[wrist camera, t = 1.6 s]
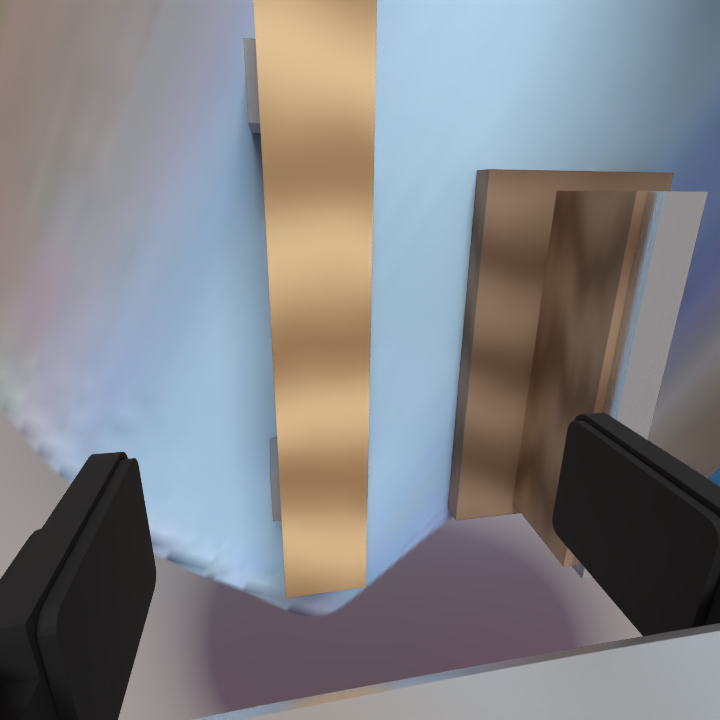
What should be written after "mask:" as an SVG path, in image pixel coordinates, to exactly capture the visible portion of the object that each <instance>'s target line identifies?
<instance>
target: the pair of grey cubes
mask: <svg viewBox="0 0 720 720" xmlns="http://www.w3.org/2000/svg"><path fill="white" fill-rule="evenodd" d="M243 41H244V57H245V73H246V90H247V106H248V122H249V126H250V130H251V133H261V129H260V111H259V93H258V74H257V56H256V39H252V38H243ZM270 479H271V495H272V511H273V521H280V520H282V517H281V498H280V480H279V461H278V443H277V438H271V439H270Z"/></svg>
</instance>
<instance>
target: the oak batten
mask: <svg viewBox="0 0 720 720" xmlns="http://www.w3.org/2000/svg"><path fill="white" fill-rule="evenodd" d="M254 19H255V37H256V56H257V74H258V93H259V111H260V129H261V148H262V166H263V185H264V203H265V222H266V240H267V258H268V277H269V295H270V314H271V332H272V351H273V369H274V387H275V406H276V424H277V443H278V461H279V480H280V498H281V517H282V535H283V553H284V572H285V590H286V598H290V597H297V596H305V595H312V594H319V593H326V592H334V591H341V590H348V589H356V588H363V587H366V550H367V498H368V445H369V393H370V341H371V288H372V236H373V183H374V131H375V79H376V26H377V0H254Z"/></svg>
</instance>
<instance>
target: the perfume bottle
mask: <svg viewBox="0 0 720 720" xmlns="http://www.w3.org/2000/svg"><path fill="white" fill-rule="evenodd" d="M709 480H710V481H712V482H713V483H715V484H716V485H718V486H719V487H720V468H719V469H718V470H717V471H716V472H715V473H714V474H713V475H712V476H711V477H710V478H709Z"/></svg>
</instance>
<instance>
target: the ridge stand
mask: <svg viewBox="0 0 720 720" xmlns="http://www.w3.org/2000/svg"><path fill="white" fill-rule="evenodd" d="M673 174H674V173H645V172H595V171H546V170H497V169H488V170H478V171H477V182H476V193H475V205H474V216H473V228H472V239H471V251H470V262H469V273H468V285H467V296H466V308H465V319H464V330H463V342H462V353H461V365H460V376H459V387H458V399H457V410H456V422H455V433H454V445H453V456H452V467H451V479H450V490H449V502H448V508H449V509H450V511H451V513H452V515H453V516H454V518H455V519H456V520H464V519H472V518H482V517H490V516H499V515H507V514H516V513H522V514H523V516H524V517H525V518H526V520H527V521H528V522H529V523H530V525H531V526H532V527H533V528H534V530H535V531H536V532H537V534H538V535H539V536H540V537H541V539H542V540H543V541H544V542H545V544H546V545H547V546H548V547H549V549H550V550H551V551H552V553H553V554H554V555H555V556H556V558H557V559H558V560H559V562H560V563H561V564H562V565H563V566H572V567H573V568H574V569H575V571H576V572H577V573H578V574H579V575H580V577H581V578H582V579H586V578H593V577H592V576H591V575H590V573H589V572H588V571H587V570H586V569H585V567H584V566H583V565H582V564H581V563H580V562H579V560H578V559H577V558H576V557H575V556H574V555H573V553H572V552H571V551H570V550H569V549H568V548H567V546H566V545H565V544H564V543H563V542H562V541H561V539H560V538H559V537H558V536H557V534H556V533H555V531H554V528H553V523H552V517H553V511H554V505H555V499H556V494H557V488H558V482H559V476H560V470H561V464H562V459H563V453H564V447H565V441H566V435H567V429H568V426H569V424H570V423H571V422H572V421H574V419H575V418H576V416H578V415H579V414H591V413H606V414H608V415H610V416H611V417H613V418H614V419H616V420H617V421H619V422H620V423H622V424H623V425H625V426H627V427H628V428H630V429H631V430H633V431H634V432H636V433H637V434H639V435H641V436H642V437H644V438H645V439H647V440H648V436H649V432H650V428H651V424H652V419H653V415H654V411H655V407H656V403H657V399H658V395H659V391H660V387H661V382H662V378H663V374H664V370H665V366H666V362H667V358H668V354H669V350H670V345H671V341H672V337H673V333H674V329H675V325H676V321H677V317H678V313H679V308H680V304H681V300H682V296H683V292H684V288H685V284H686V280H687V276H688V271H689V267H690V263H691V259H692V255H693V251H694V247H695V243H696V239H697V234H698V230H699V226H700V222H701V218H702V214H703V210H704V206H705V202H706V197H707V193H708V192H682V191H670V188H671V183H672V178H673Z"/></svg>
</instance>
